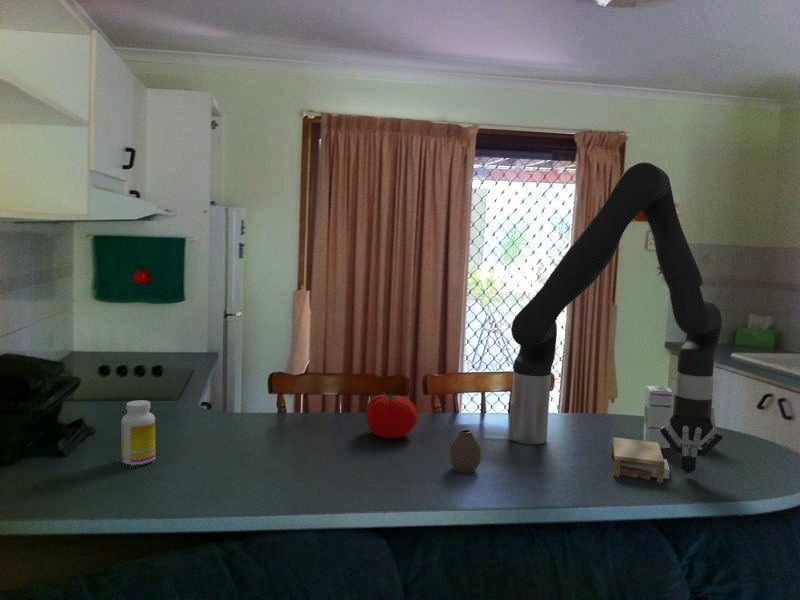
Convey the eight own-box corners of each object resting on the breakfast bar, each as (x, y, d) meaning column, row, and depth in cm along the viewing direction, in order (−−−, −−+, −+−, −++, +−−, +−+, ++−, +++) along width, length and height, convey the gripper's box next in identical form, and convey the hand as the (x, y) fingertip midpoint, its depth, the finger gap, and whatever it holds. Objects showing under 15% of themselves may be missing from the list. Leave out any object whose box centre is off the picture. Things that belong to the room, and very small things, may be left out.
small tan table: (613, 476, 139) (614, 455, 139) (611, 456, 153) (612, 437, 152) (662, 483, 137) (664, 462, 136) (656, 461, 150) (658, 442, 150)
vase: (459, 478, 135) (461, 437, 134) (442, 467, 141) (443, 428, 140) (486, 473, 138) (488, 433, 137) (468, 463, 144) (470, 425, 143)
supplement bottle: (162, 460, 139) (162, 401, 137) (137, 469, 133) (137, 408, 131) (139, 454, 141) (139, 397, 140) (114, 463, 135) (114, 404, 134)
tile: (619, 473, 142) (620, 463, 142) (619, 463, 149) (619, 453, 149) (668, 480, 139) (669, 469, 139) (665, 470, 146) (666, 459, 146)
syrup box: (670, 449, 160) (675, 391, 158) (645, 446, 161) (649, 389, 159) (665, 442, 165) (670, 386, 164) (641, 440, 166) (645, 384, 165)
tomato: (354, 434, 162) (355, 393, 161) (387, 425, 171) (388, 385, 170) (394, 447, 153) (396, 403, 152) (426, 436, 162) (428, 395, 161)
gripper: (661, 394, 137) (656, 473, 139) (730, 401, 133) (723, 482, 135) (658, 387, 144) (653, 462, 146) (723, 393, 140) (717, 470, 142)
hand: (687, 471), depth 140 cm, fingers closed
